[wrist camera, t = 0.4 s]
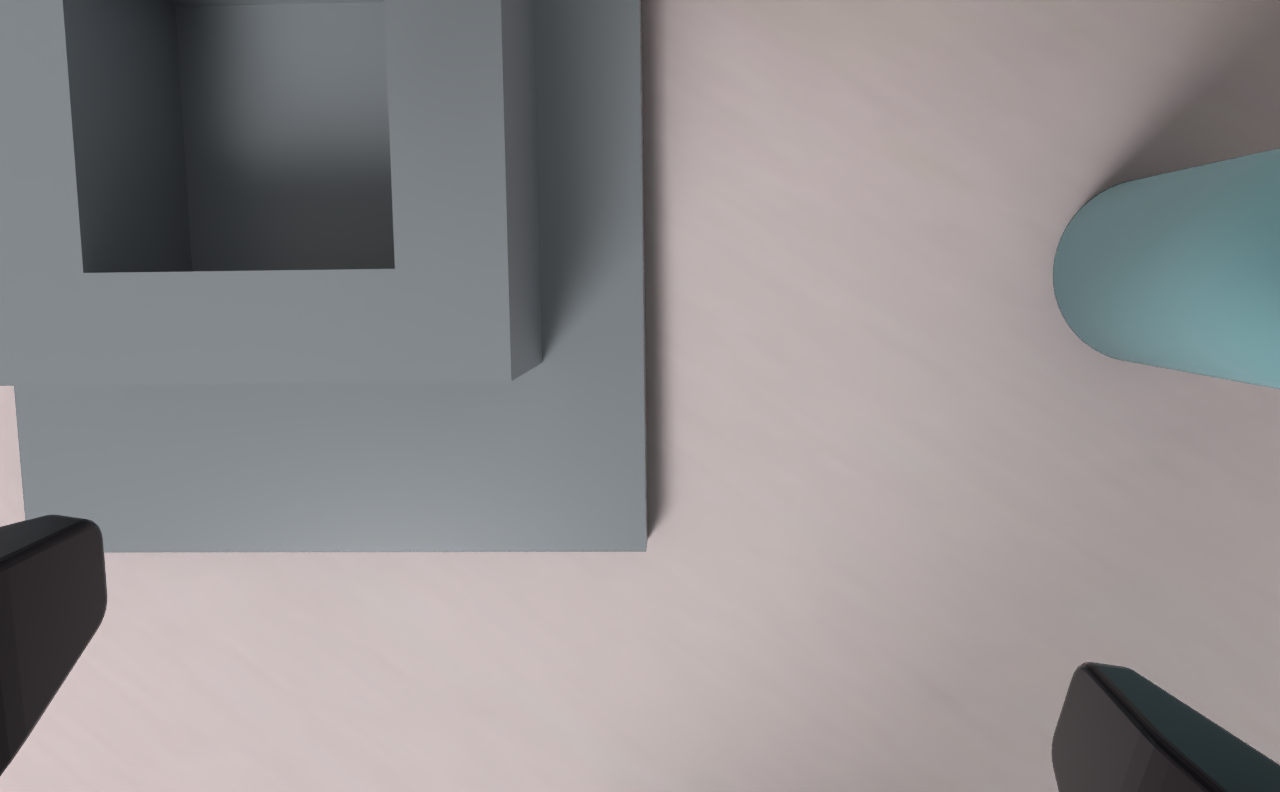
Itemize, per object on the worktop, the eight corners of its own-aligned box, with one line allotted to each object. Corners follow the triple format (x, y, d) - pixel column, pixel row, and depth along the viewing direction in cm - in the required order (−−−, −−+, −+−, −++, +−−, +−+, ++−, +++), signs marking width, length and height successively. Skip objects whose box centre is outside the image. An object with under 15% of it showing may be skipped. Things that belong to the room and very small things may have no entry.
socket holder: (647, 539, 23) (638, 611, 18) (55, 540, 24) (-112, 610, 19) (637, -298, 21) (623, -477, 16) (-11, -274, 22) (-218, -440, 17)
